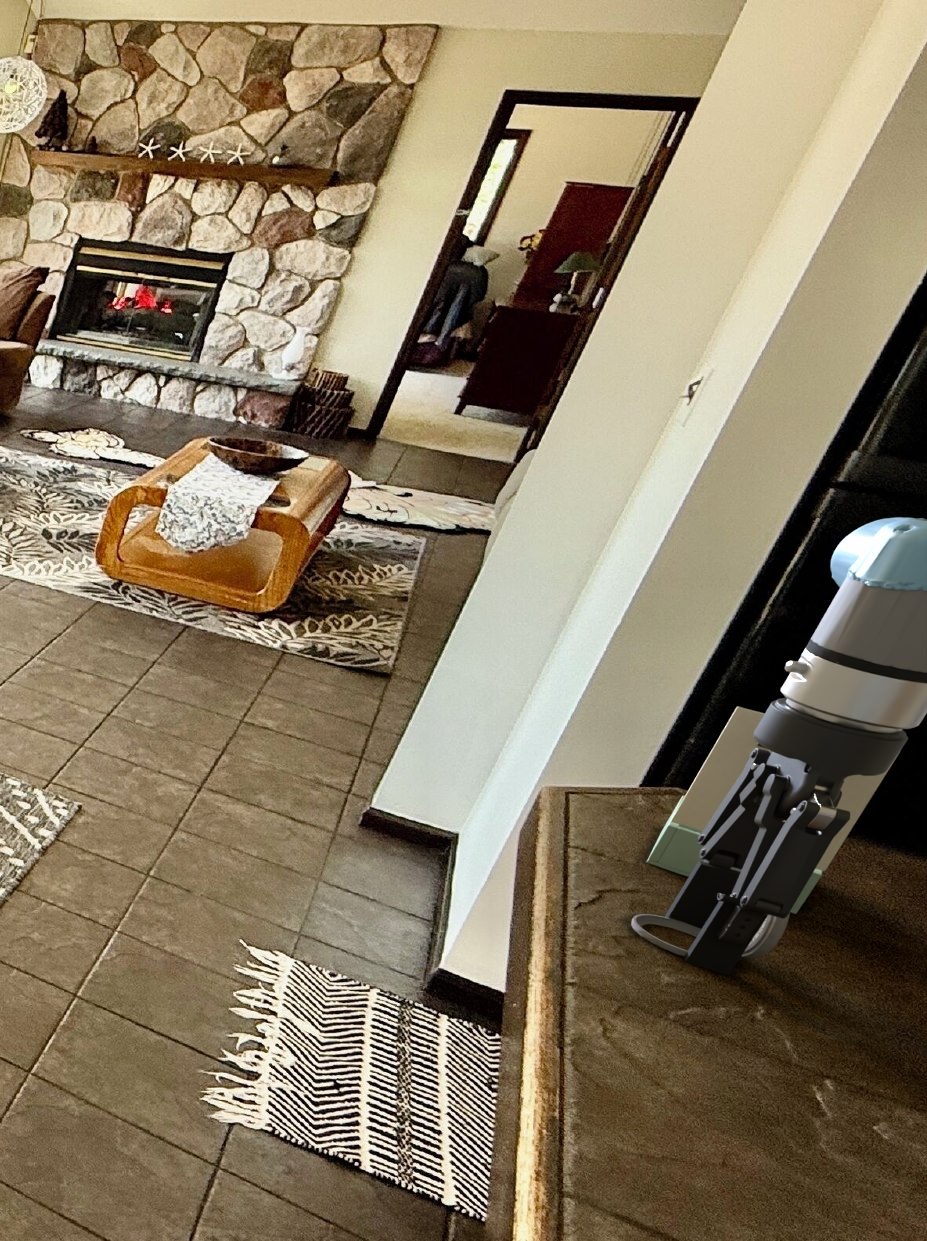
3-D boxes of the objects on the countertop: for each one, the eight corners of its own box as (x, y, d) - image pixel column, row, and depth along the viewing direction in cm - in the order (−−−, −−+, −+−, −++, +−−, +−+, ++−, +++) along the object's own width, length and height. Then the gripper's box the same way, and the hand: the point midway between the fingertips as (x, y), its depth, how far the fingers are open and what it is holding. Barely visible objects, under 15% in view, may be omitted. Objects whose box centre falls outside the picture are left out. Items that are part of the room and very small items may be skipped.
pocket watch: (607, 920, 106) (662, 826, 102) (697, 927, 106) (755, 833, 103) (695, 977, 99) (758, 877, 95) (792, 984, 99) (859, 885, 95)
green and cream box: (660, 833, 124) (682, 795, 122) (801, 880, 116) (828, 840, 114) (644, 865, 117) (668, 825, 115) (794, 917, 110) (821, 875, 108)
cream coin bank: (737, 706, 112) (739, 707, 106) (900, 749, 105) (912, 753, 98) (670, 820, 115) (669, 828, 109) (824, 870, 108) (831, 881, 102)
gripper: (741, 665, 103) (613, 884, 112) (818, 738, 88) (663, 984, 97) (863, 690, 99) (720, 914, 108) (965, 771, 84) (789, 1023, 93)
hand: (694, 947), depth 103 cm, fingers closed on pocket watch, 7 cm apart
